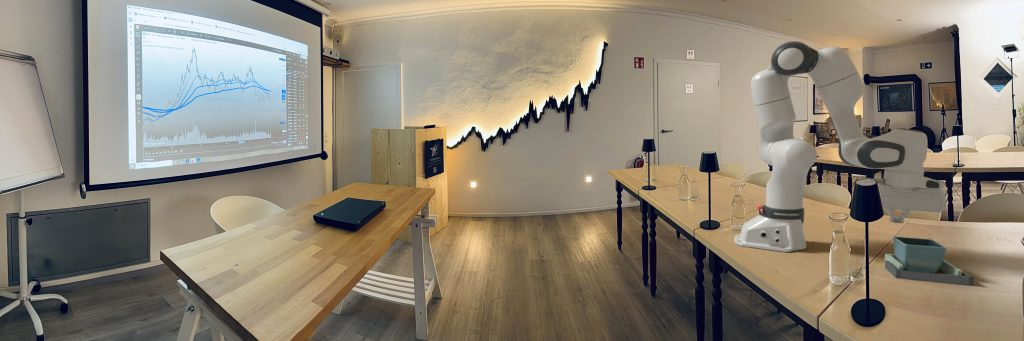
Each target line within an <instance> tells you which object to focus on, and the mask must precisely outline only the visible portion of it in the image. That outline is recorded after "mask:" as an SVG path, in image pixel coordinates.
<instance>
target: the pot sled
mask: <svg viewBox="0 0 1024 341" xmlns="http://www.w3.org/2000/svg"><path fill="white" fill-rule="evenodd" d="M885 261H890V262H891V263H892V264H893V265H894V266H895V267H897V268H898V269H899V270H904V269H903V265H902V264H901V263H899V262H898V261H897V258H896V256H895V253H886V252H885V253H884V262H885ZM957 267H958V266H955V265H954V264H952V263H951V262H948V260H946V259H945V258H944V259H943V262H942V264H941V266H940V268H939V269H938V270H940V271H941V272H943V273H944V274H950V275H961V276H962V271H961V270H962V269H961V268H959V267H958V268H959V269H958V268H957ZM960 269H961V270H960Z"/></svg>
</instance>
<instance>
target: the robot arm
mask: <svg viewBox="0 0 1024 341" xmlns="http://www.w3.org/2000/svg"><path fill="white" fill-rule="evenodd" d="M802 74H807V75H808V76H809V77H810V79H811V80H812V82H813V85H815V88H816V91H817V92H818V94H819V96H820V99H821V100H822V102H823V104H824V106H825V108H826V110H827V112H828V115H829V118H830V121H831V123H832V125H833V129H834V131H835V133H836V137H837V139H838V147H837V148H838V150H837V151H838V157H839V159H840V160H841V162H843V163H844V164H846V165H848V166H850V167H859V168H865V169H870V170H873V169H874V170H876V169H884V173H883V178H871V177H866V178H865V179H870V180H876V181H877V182H878V184H879V189H880V193H881V201H882V206H883V208H882V209H886V213H887V215H888V216H889V223H896V224H904V221H905V218H907V217H908V216H909V215H910V214H911V211H914V212H915V211H916V212H918V211H919V212H927V213H943V211H945V209H946V202H947V200H946V198H947V197H946V193H945V191H944V190H943V189H944V188H945V183H944V182H942V181H940V180H936V179H932V177H929V176H924V174H925V169H924V163H925V161H926V159H927V154H928V136H927V134H926V133H924V132H923V131H921V130H916V129H911V128H902V127H900V128H898V127H897V128H894V129H892V130H891V131H889V132H887V133H884V134H882V135H879V136H874V137H872V138H871V137H870V138H869V137H868V136H866V135H864V134H863V132H862V129H861V128H860V125H859V122H858V119H857V117H856V113H855V106H856V104H857V102H859V101H860V99H861V98H862V97H863V95H864V91H865V88H864V84H863V81H862V78H861V75H860V74H859V71H858V69H857V67H856V66H855V64H854V62H853V61H852V59H851V58H850V56H849V55H848V53H847V52H846V51H845V50H844V49H843V48H842V47H839V46H828V47H824V48H822V49H819V50H816V49H814V48H812V47H811V46H809V45H808V44H806V43H805V42H802V41H799V40H791V41H786V42H784V43H781V44H780V45H779V46H778V47H777V48H776V49H775V50H774V51H773V53H772V55H771V58H770V65H769V67H768V68H766V69H763V70H760V71H759V72H757V73H756V74H754V75H753V76H752V78H751V80H750V92H751V93H750V94H751V100H752V104H753V108H754V112H755V115H756V119H757V123H758V129H759V130H758V131H759V147H758V155H759V157H760V159H761V160H762V161H763V162H764V163H765V164H767V165H769V166H771V167H772V171H771V174H770V177H769V180H768V181H767V183H766V187H765V204H764V205H762V204H757V205H756V208H757V210H758V215H755V217H752V218H751V219H749V220H748V221H746V222H744V223H743V225H742V227H741V231H740V233H738V234H735V235H734V238H733V241H734V242H735V244H736V245H738V246H740V247H747V248H753V249H762V250H769V251H776V252H783V253H791V252H794V251H800V250H805V249H807V248H808V245H807V243H806V239H805V234H804V225H803V224H804V223H805V222H804V221H805V207H803V206H804V204H803V203H804V188H805V183H806V180H807V177H808V173H809V171H810V169H811V167H812V166H813V165H814V164H815V163H816V162H817V158H818V153H817V150H816V147H815V146H813V145H812V144H811V143H809V142H807V141H806V140H804V139H801V138H795V137H794V123H795V121H796V113H795V109H794V104H793V101H792V97H791V93H790V90H789V84H788V82H789V79H790V77H792V76H797V75H802ZM896 210H901V212H902V213H901V214H900V215H899V216H895V215H894V213H895V211H896Z"/></svg>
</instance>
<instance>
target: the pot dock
mask: <svg viewBox="0 0 1024 341" xmlns="http://www.w3.org/2000/svg"><path fill="white" fill-rule="evenodd" d="M956 267H957V268H958V269H960V270H961V271H962V276H961V275H950V274H946V273H938V272H935V273H929V272H918V271H908V270H905V269H903V270H899V269H898V268H897V267H895V266H894V265H893V264H892V263H891V262H890V261H885V260H884V269H885V270H887V271H888V273H890V274H891V275H892V276H893V277H895V278H896V279H904V280H911V281H912V280H913V281H921V282H922V281H923V282H931V283H939V284H940V283H941V284H950V285H951V284H952V285H961V286H962V285H963V286H969V287H970V286H972V287H973V286H974V277H973V276H972V275H970V274H968V273H967V272H966V271H964V270H962V269H961V268H959V267H958V266H956Z"/></svg>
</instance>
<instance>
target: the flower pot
mask: <svg viewBox="0 0 1024 341" xmlns="http://www.w3.org/2000/svg"><path fill="white" fill-rule="evenodd" d="M892 239H893V240H892V241H893V251H894V254H895V256H896V258H897V261H898V262H899V263H901V264H902V265H903V270H908V271H918V272H929V273H937V271H938V270H940V269H939V268H940V266H941V264H942V262H943V259H944V260H945V255H946V252H947V247H946V246H944V245H943V244H941V243H939V242H937V241H936V240H934V239H932V238H931V239H930V238H921V237H920V238H918V237H904V236H893V237H892Z"/></svg>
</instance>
